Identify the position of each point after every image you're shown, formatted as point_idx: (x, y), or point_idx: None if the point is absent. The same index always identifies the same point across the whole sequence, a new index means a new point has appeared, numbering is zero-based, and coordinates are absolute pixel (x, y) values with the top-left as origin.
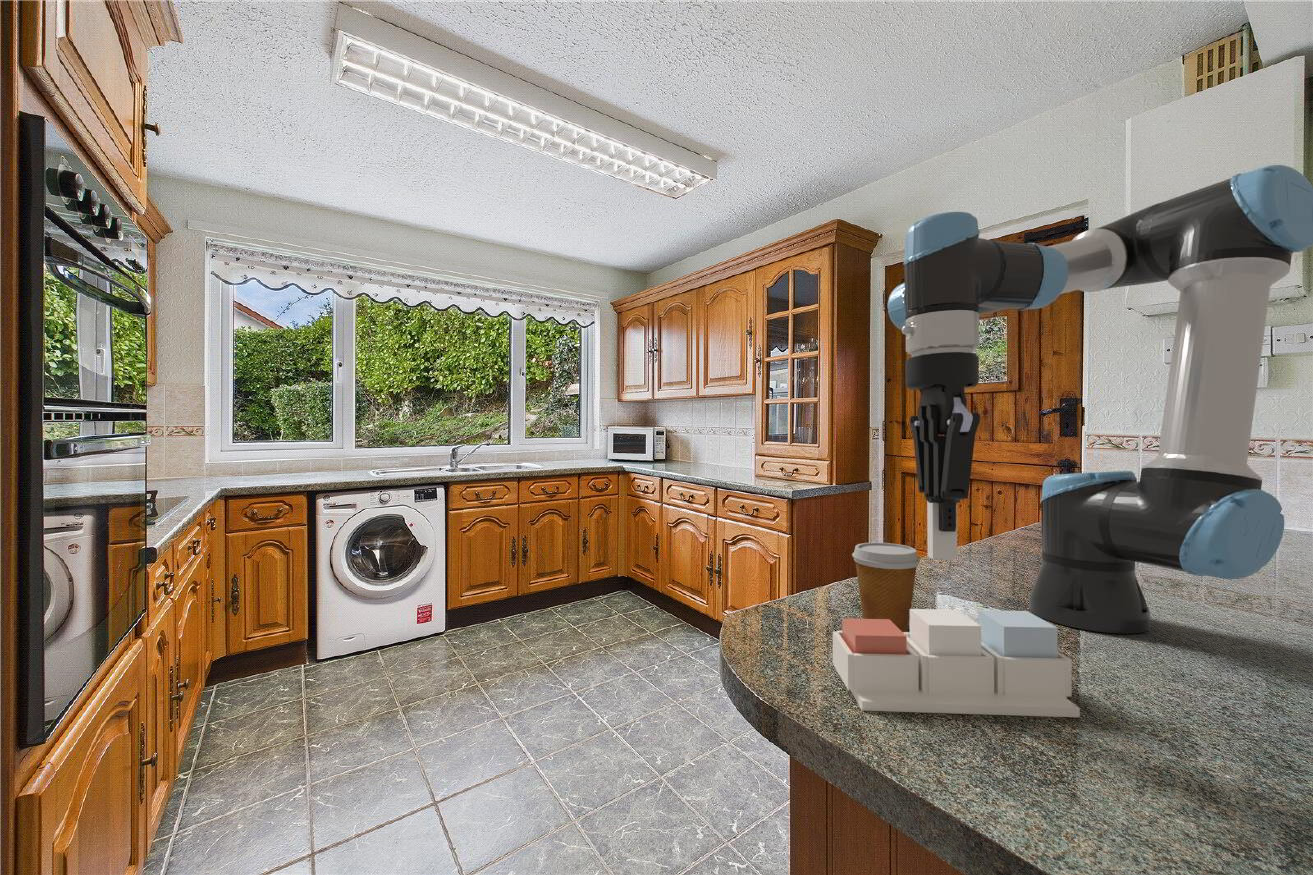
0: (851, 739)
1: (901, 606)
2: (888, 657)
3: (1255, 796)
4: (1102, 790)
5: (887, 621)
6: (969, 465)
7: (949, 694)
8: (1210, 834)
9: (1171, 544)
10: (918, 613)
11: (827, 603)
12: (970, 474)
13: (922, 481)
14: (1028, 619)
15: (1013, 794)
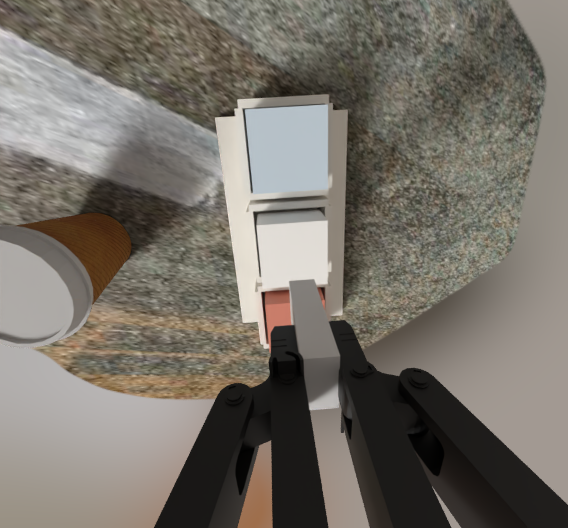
0: (383, 324)
1: (110, 241)
2: (330, 308)
3: (482, 28)
4: (457, 169)
5: (273, 308)
6: (538, 486)
7: None
8: (512, 120)
9: None
10: (280, 282)
11: None
12: (500, 441)
13: (252, 465)
14: (292, 132)
15: (454, 238)
